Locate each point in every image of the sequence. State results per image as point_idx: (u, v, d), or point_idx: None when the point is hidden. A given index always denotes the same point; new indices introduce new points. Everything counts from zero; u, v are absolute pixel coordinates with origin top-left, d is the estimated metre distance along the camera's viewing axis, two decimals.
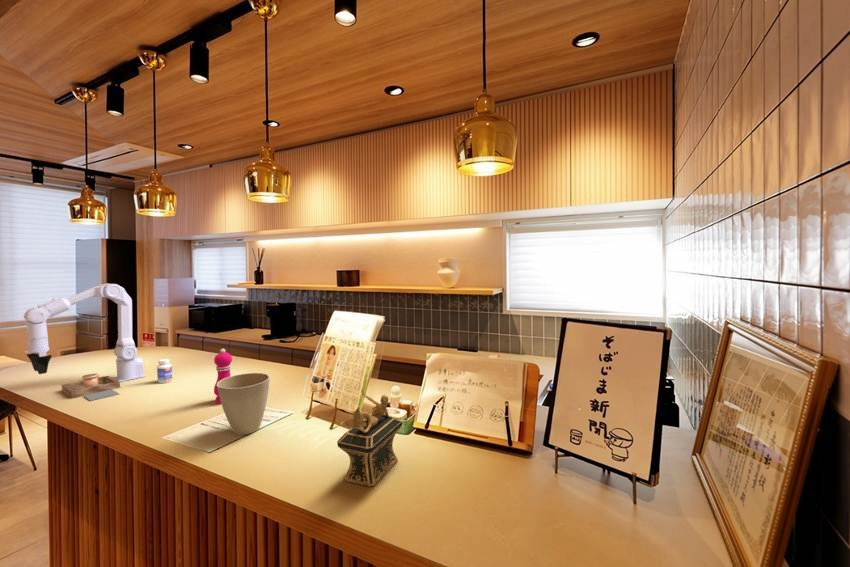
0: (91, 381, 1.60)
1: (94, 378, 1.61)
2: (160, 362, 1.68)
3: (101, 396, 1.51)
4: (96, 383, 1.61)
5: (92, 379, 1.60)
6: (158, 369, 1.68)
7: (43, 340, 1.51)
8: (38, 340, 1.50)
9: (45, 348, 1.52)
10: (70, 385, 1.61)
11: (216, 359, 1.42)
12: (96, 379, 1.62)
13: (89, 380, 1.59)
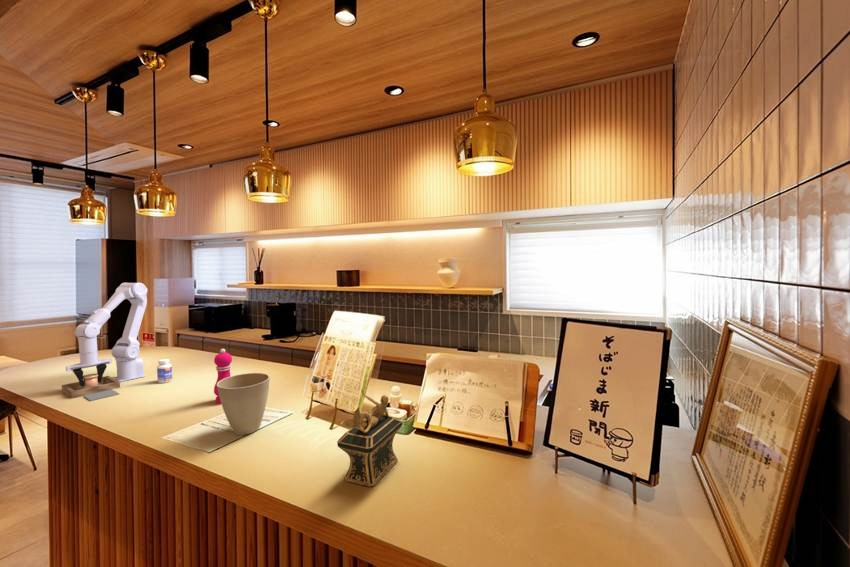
0: (91, 381, 1.60)
1: (94, 378, 1.61)
2: (160, 362, 1.68)
3: (101, 396, 1.51)
4: (96, 383, 1.61)
5: (92, 379, 1.60)
6: (158, 369, 1.68)
7: (81, 355, 1.58)
8: None
9: (82, 363, 1.58)
10: (70, 385, 1.61)
11: (216, 359, 1.42)
12: (96, 379, 1.62)
13: (89, 380, 1.59)
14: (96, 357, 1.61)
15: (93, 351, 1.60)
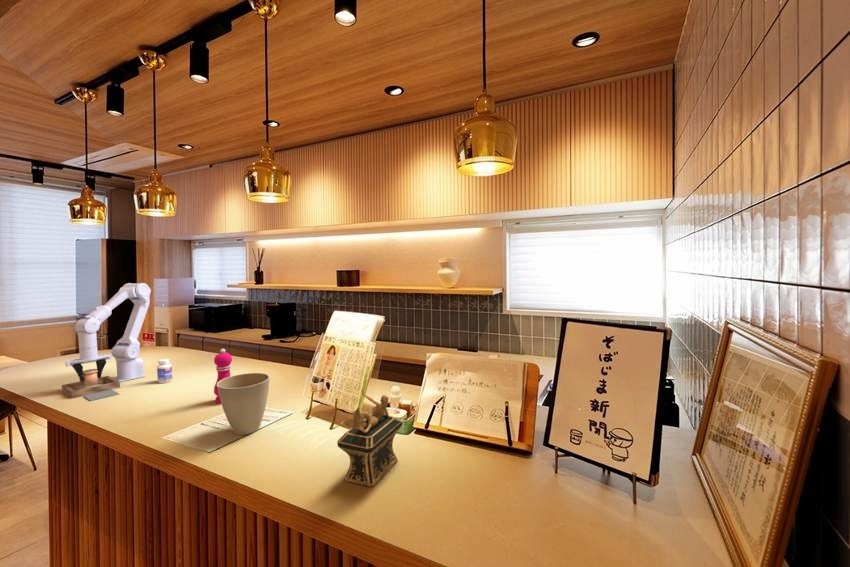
0: (91, 376, 1.60)
1: (94, 373, 1.60)
2: (160, 362, 1.68)
3: (101, 396, 1.51)
4: (96, 378, 1.61)
5: (92, 374, 1.60)
6: (158, 369, 1.68)
7: (81, 351, 1.58)
8: (79, 350, 1.58)
9: (82, 359, 1.58)
10: (70, 385, 1.61)
11: (216, 359, 1.42)
12: (96, 374, 1.61)
13: (89, 375, 1.59)
14: (96, 352, 1.61)
15: (93, 346, 1.60)
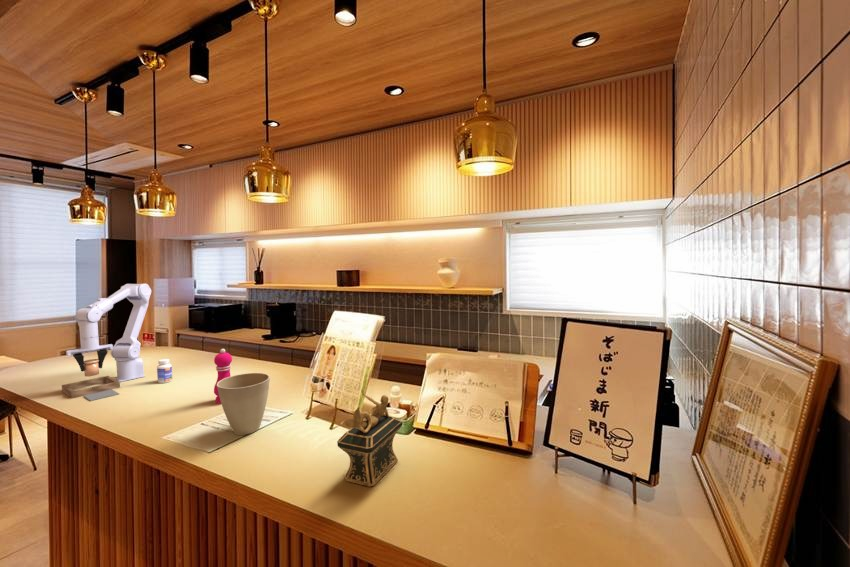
0: (92, 366, 1.58)
1: (95, 363, 1.58)
2: (160, 362, 1.68)
3: (101, 396, 1.51)
4: (97, 368, 1.59)
5: (93, 364, 1.58)
6: (158, 369, 1.68)
7: (82, 340, 1.56)
8: (80, 339, 1.56)
9: (83, 348, 1.56)
10: (70, 385, 1.61)
11: (216, 359, 1.42)
12: (97, 364, 1.59)
13: (90, 365, 1.57)
14: (97, 342, 1.59)
15: (95, 336, 1.58)
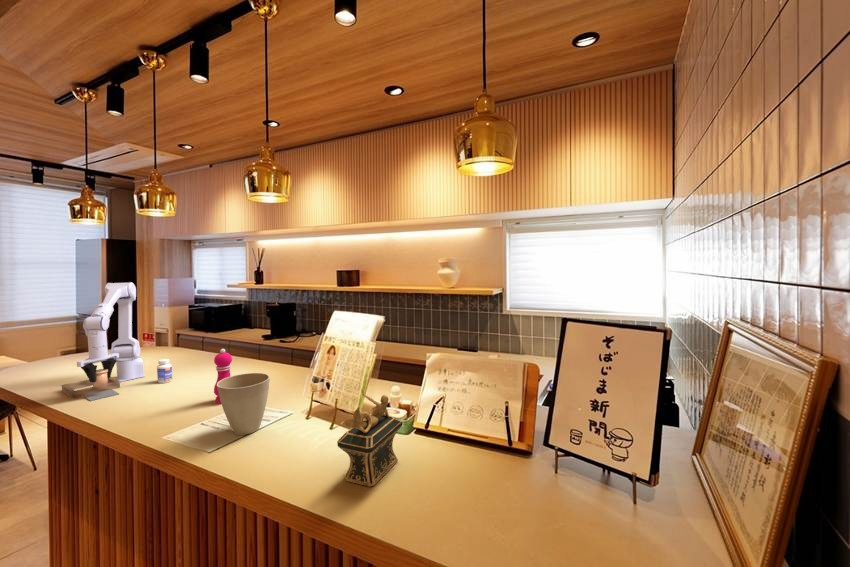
0: (103, 376, 1.52)
1: (106, 373, 1.53)
2: (160, 362, 1.68)
3: (101, 396, 1.51)
4: (107, 378, 1.54)
5: (104, 374, 1.53)
6: (158, 369, 1.68)
7: (93, 350, 1.50)
8: (89, 349, 1.50)
9: (95, 358, 1.50)
10: (70, 385, 1.61)
11: (216, 359, 1.42)
12: (106, 374, 1.54)
13: (101, 375, 1.52)
14: (107, 351, 1.54)
15: (106, 344, 1.53)
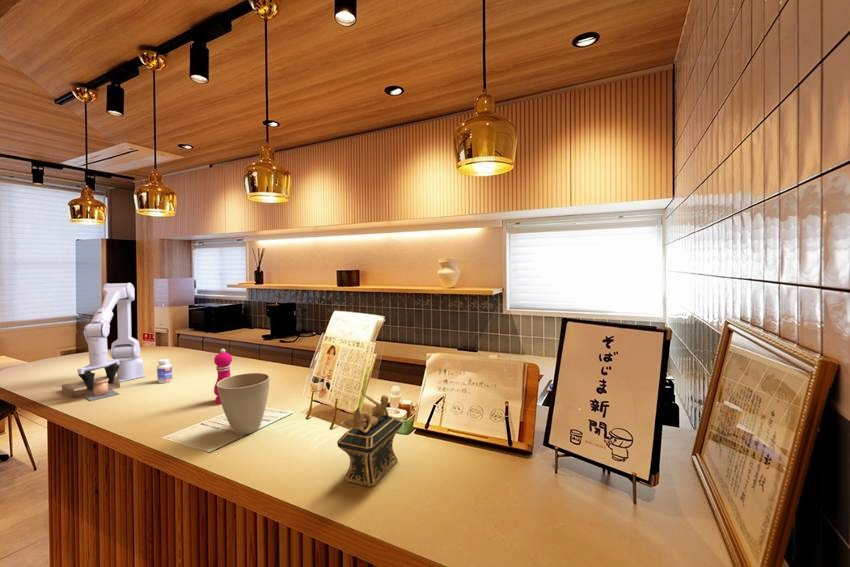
0: (104, 385, 1.53)
1: (106, 382, 1.53)
2: (160, 362, 1.68)
3: (101, 396, 1.51)
4: (107, 387, 1.54)
5: (105, 383, 1.53)
6: (158, 369, 1.68)
7: (93, 356, 1.50)
8: (90, 356, 1.50)
9: (95, 365, 1.50)
10: (70, 385, 1.61)
11: (216, 359, 1.42)
12: (107, 383, 1.54)
13: (102, 384, 1.52)
14: (107, 358, 1.54)
15: (106, 351, 1.53)
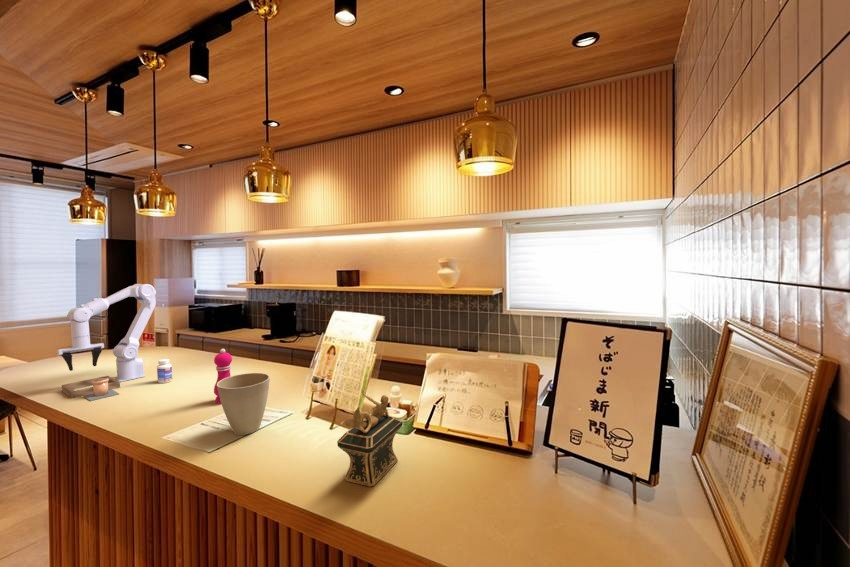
0: (104, 385, 1.53)
1: (106, 382, 1.54)
2: (160, 362, 1.68)
3: (101, 396, 1.51)
4: (107, 387, 1.54)
5: (105, 383, 1.53)
6: (158, 369, 1.68)
7: (73, 339, 1.58)
8: None
9: (74, 347, 1.58)
10: (70, 385, 1.61)
11: (216, 359, 1.42)
12: (107, 383, 1.54)
13: (102, 384, 1.52)
14: (88, 341, 1.62)
15: (83, 335, 1.60)
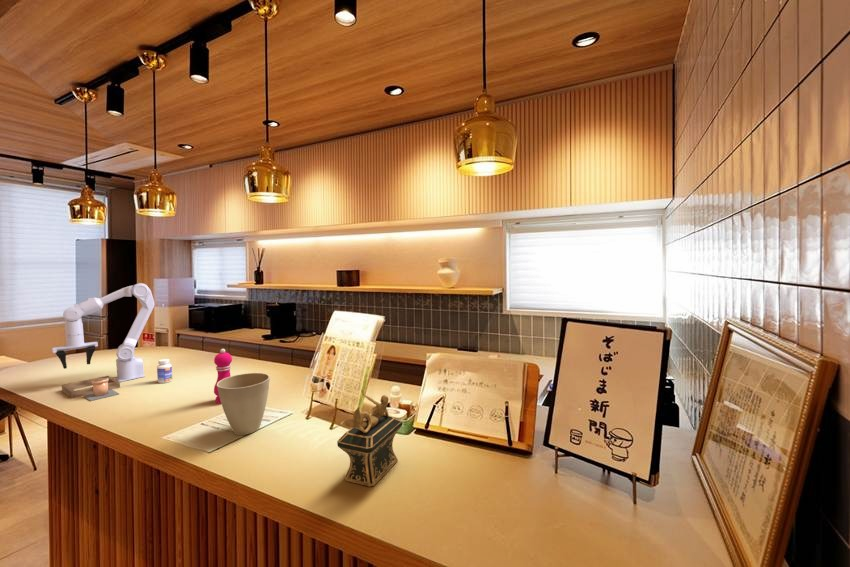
0: (104, 385, 1.53)
1: (106, 382, 1.53)
2: (160, 362, 1.68)
3: (101, 396, 1.51)
4: (107, 387, 1.54)
5: (105, 383, 1.53)
6: (158, 369, 1.68)
7: (67, 338, 1.62)
8: None
9: (68, 345, 1.62)
10: (70, 385, 1.61)
11: (216, 359, 1.42)
12: (107, 383, 1.54)
13: (102, 384, 1.52)
14: (82, 339, 1.65)
15: (73, 334, 1.62)
